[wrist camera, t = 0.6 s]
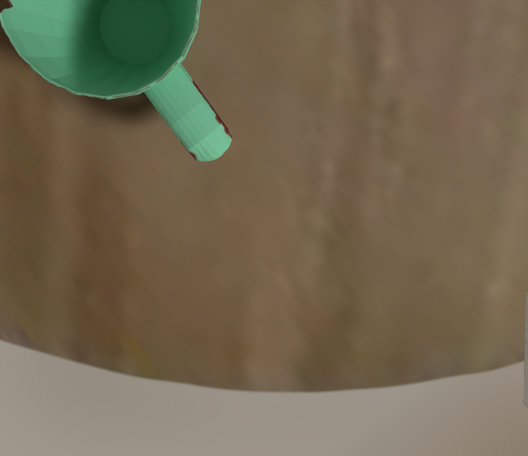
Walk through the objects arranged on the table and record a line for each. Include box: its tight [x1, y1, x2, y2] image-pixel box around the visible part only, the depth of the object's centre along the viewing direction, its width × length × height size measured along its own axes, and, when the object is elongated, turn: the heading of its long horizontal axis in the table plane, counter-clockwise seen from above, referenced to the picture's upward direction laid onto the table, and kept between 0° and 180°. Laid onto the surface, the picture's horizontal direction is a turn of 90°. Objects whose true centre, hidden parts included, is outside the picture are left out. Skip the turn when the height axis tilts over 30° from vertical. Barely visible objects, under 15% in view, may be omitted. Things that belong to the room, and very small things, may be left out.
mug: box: [0, 0, 232, 161], centre depth 30 cm, size 15×10×10 cm
